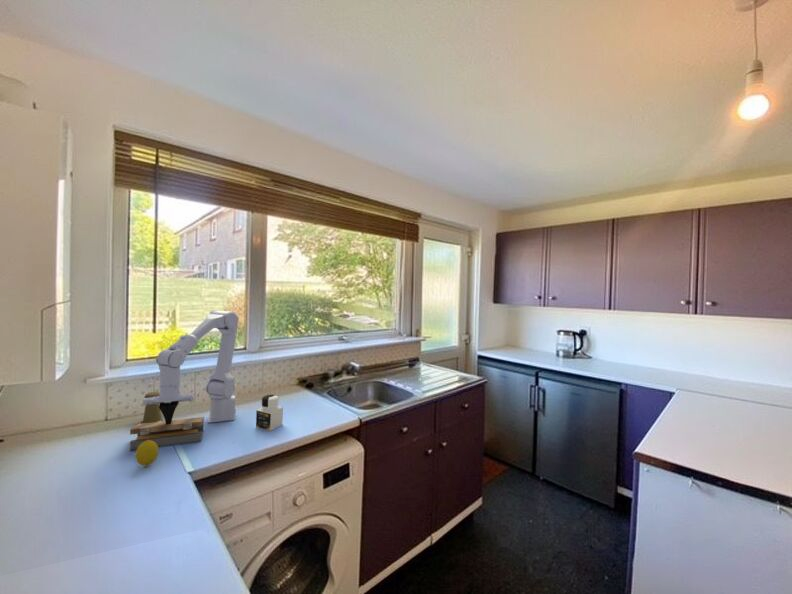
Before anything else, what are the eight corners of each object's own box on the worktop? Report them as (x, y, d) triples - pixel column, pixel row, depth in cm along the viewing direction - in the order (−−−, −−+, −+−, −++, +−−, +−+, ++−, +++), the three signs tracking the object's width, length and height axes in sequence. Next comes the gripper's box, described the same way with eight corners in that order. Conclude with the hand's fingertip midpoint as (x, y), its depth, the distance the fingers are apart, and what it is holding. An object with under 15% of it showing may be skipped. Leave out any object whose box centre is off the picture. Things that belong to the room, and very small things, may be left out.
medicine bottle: (255, 427, 131) (256, 397, 131) (268, 421, 138) (269, 392, 137) (269, 431, 129) (270, 400, 128) (282, 424, 135) (283, 395, 135)
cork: (165, 417, 136) (165, 390, 136) (153, 423, 130) (153, 395, 130) (151, 416, 137) (151, 389, 137) (138, 422, 131) (139, 394, 131)
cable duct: (203, 429, 127) (203, 422, 127) (200, 441, 118) (200, 433, 118) (138, 437, 119) (138, 429, 119) (129, 451, 110) (130, 442, 110)
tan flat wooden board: (203, 422, 127) (203, 416, 127) (200, 427, 117) (201, 421, 118) (138, 429, 119) (138, 423, 119) (129, 436, 109) (129, 429, 109)
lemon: (133, 472, 98) (134, 445, 98) (137, 463, 103) (138, 437, 103) (156, 468, 101) (157, 442, 100) (159, 459, 106) (160, 434, 105)
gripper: (141, 389, 110) (140, 430, 110) (192, 386, 116) (191, 425, 116) (146, 383, 116) (145, 422, 117) (195, 380, 122) (194, 417, 123)
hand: (168, 423), depth 117 cm, fingers closed, pressing on tan flat wooden board
